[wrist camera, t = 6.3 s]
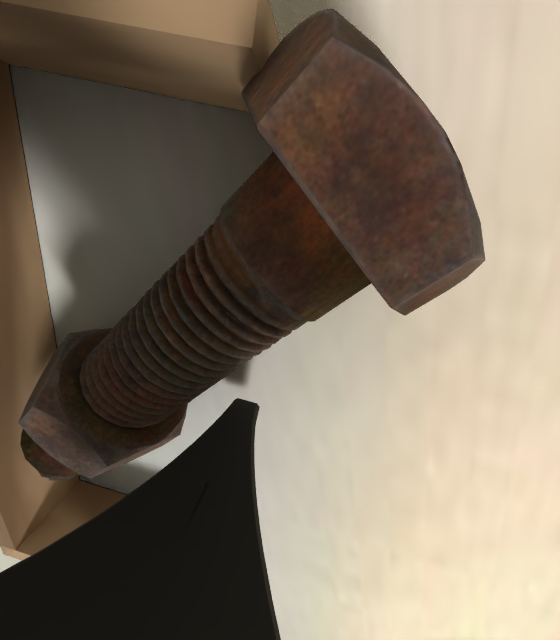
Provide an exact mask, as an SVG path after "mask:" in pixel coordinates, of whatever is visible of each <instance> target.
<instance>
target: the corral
mask: <svg viewBox="0 0 560 640" xmlns="http://www.w3.org/2000/svg"><path fill="white" fill-rule="evenodd" d="M279 44H280V41H279V37H278V34H277V30H276V26H275V23H274V19H273V15H272V12H271V8H270V5H269V1H268V0H0V547H1V549H2V551H3V554H4V555H7V556H10V557H13V558H16V559H19V560H24V559H26V558H28V557H29V556H31V555H33V554H35V553H37V552H38V551H40V550H42V549H43V548H45V547H47V546H49V545H50V544H52V543H54V542H55V541H57V540H58V539H60V538H62V537H63V536H65V535H67V534H68V533H70V532H71V531H73V530H75V529H76V528H78V527H80V526H81V525H83V524H84V523H86V522H88V521H89V520H91V519H92V518H94V517H96V516H97V515H99V514H100V513H102V512H103V511H105V510H106V509H108V508H109V507H111V506H112V505H114V504H115V503H117V502H118V501H120V500H121V499H122V498H124V497H125V496H127V495H125V494H122V493H118V492H115V491H112V490H109V489H105V488H102V487H99V486H96V485H93V484H89V483H86V482H83V481H80V480H79V476H78V474H75V477H72V479H67V480H62V481H51V480H49V478H45V477H41V475H40V474H39V472H38V471H37V470H36V469H35V468H34V467H33V466H32V465H31V464H30V463H29V462H28V461H27V460H26V459H25V457H24V454H23V451H22V448H21V445H20V442H21V433H22V430H23V428H22V427H21V425H20V424H19V423H18V422H19V420H20V417H21V415H22V413H23V410H24V408H25V406H26V404H27V402H28V400H29V398H30V396H31V394H32V392H33V390H34V388H35V386H36V384H37V382H38V380H39V378H40V376H41V375H42V373H43V371H44V369H45V367H46V366H47V364H48V362H49V361H50V359H51V357H52V355H53V354H54V352H55V350H56V349H57V347H56V341H55V335H54V329H53V323H52V318H51V312H50V306H49V300H48V294H47V288H46V282H45V277H44V271H43V265H42V259H41V253H40V247H39V241H38V236H37V230H36V224H35V218H34V212H33V206H32V200H31V195H30V189H29V183H28V177H27V171H26V165H25V159H24V154H23V148H22V142H21V136H20V130H19V124H18V118H17V113H16V107H15V101H14V95H13V89H12V83H11V77H10V72H9V66H8V64H12V65H17V66H22V67H27V68H32V69H37V70H42V71H47V72H52V73H57V74H62V75H67V76H72V77H77V78H82V79H87V80H92V81H96V82H101V83H106V84H111V85H116V86H121V87H126V88H131V89H136V90H141V91H146V92H151V93H156V94H161V95H166V96H171V97H176V98H181V99H186V100H191V101H195V102H200V103H205V104H210V105H215V106H220V107H225V108H230V109H235V110H240V111H245V112H249V110H248V108H247V105H246V103H245V101H244V99H243V97H242V90H243V89H244V88H245V86H246V85H247V84H248V83H249V81H250V80H251V79H252V78H253V76H254V75H256V74H257V73H258V72H260V71H261V70H262V69H263V67H264V65H265V63H266V61H267V59H268V58H269V56H270V55H271V54H272V52H273V51H274V50H275V49H276V47H277V46H278V45H279Z"/></svg>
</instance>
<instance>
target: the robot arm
mask: <svg viewBox="0 0 560 640" xmlns="http://www.w3.org/2000/svg"><path fill="white" fill-rule="evenodd" d="M258 411H259V406H258V404H257V403H253V402H250V401H246V400H242V399H239V398H237V399H235V400H234V401H233V402H232V404H231V405H230V406H229V407H228V408H227V410H226V411H225V412H224V413H223V414H222V415H221V416H220V417H219V418H218V419H217V420H216V421H215V423H214V424H213V425H212V426H211V427H209V428H208V429H207V430H206V431H205V432H204V433H203V434H202V435H201V436H200V437H199V438H198V439H197V440H196V441H195V442H194V443H193V444H192V445H190V446H189V447H188V448H187V449H186V450H185V451H183V452H182V453H181V454H180V455H179V456H178V457H177V458H175V459H174V460H173V461H172V462H171V463H169V464H168V465H167V466H166V467H164V468H163V469H162V470H161V471H159V472H158V473H157V474H156V475H154V476H153V477H152V478H150V479H149V480H148V481H146V482H145V483H144V484H142V485H141V486H140V487H138V488H137V489H135V490H134V491H132V492H131V493H130V494H128V495H127V496H125V497H124V498H122V499H121V500H120V501H118V502H117V503H115V504H114V505H112V506H111V507H109V508H108V509H106V510H105V511H103V512H102V513H100V514H99V515H97V516H96V517H94V518H92V519H91V520H89V521H88V522H86V523H84V524H83V525H81V526H80V527H78V528H76V529H75V530H73V531H71V532H70V533H68V534H67V535H65V536H63V537H62V538H60V539H58V540H57V541H55V542H54V543H52V544H50V545H49V546H47V547H45V548H43V549H42V550H40V551H38V552H37V553H35V554H33V555H31V556H29V557H28V558H26V559H24V560H22V561H20V562H19V563H17V564H15V565H13V566H11V567H10V568H8V569H6V570H4V571H2V572H1V573H0V640H281V639H280V634H279V629H278V625H277V620H276V615H275V611H274V606H273V601H272V596H271V591H270V585H269V580H268V574H267V569H266V563H265V557H264V552H263V546H262V539H261V532H260V525H259V516H258V508H257V498H256V486H255V468H254V438H255V425H256V420H257V416H258Z"/></svg>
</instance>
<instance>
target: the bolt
mask: <svg viewBox="0 0 560 640" xmlns="http://www.w3.org/2000/svg"><path fill="white" fill-rule="evenodd" d="M242 97H243V99H244V101H245V103H246V105H247V108H248V110H249V112H250V114H251V117H252V119H253V121H254V123H255V125H256V128H257V130H258V131H259V132H260V134H261V135H262V136H263V138H264V139H265V140H266V142H267V143H268V144H269V146H270V147H271V149H272V150H273V151H274V152H273V153H272V154H271V155H270V156H269V157H268V158H267V159H266V160H265V162H264V163H263V164H262V165H261V166H260V167H259V168H258V169H257V170H256V171H255V172H254V173H253V174H252V175H251V176H250V178H249V179H248V180H247V181H246V182H245V183H244V184H243V185H242V186H241V187H240V188H239V189H238V190H237V191H236V193H235V194H234V195H233V196H232V197H231V198H230V199H229V200H228V201H227V202H226V203H225V204H224V205H223V207H222V208H221V213H220V215H219V216H218V218H217V219H216V220H215V223H214V225H211V226H210V227H209V228H208V229H207V230H206V231H205V235H203V236H201V237H199V238H198V239H197V241H196V243H195V244H194V245H193V246H191V247H190V248H189V249H188V251H187V252H186V254H184V255H183V256H181V257H180V258H179V260H178V261H177V262H176V263H175V264H174V265H173V266H172V267H171V268H170V269H169V270H168V271H167V272H166V273H165V274H163V275H162V278H161V279H160V280H158V281H157V282H156V283H155V284H154V285H153V287H152V288H151V289H149V290H148V291H147V293H146V294H145V295H144V296H143V297H142V298H141V299H140V301H139V302H138V303H137V304H136V306H134V307H133V308H132V309H131V310H130V311H129V312H128V313H127V315H125V316H124V317H123V318H122V319H121V321H120V322H119V323H118V324H117V325H116V326H115V327H114V328H108V329H96V330H89V331H83V332H77V333H71V334H69V335H68V336H67V337H66V339H65V340H64V341H63V342H62V343H61V345H60V346H59V347H58V348H57V349H56V350H55V352H54V354H53V355H52V357H51V359H50V361H49V362H48V364H47V366H46V367H45V369H44V371H43V373H42V375H41V376H40V378H39V380H38V382H37V384H36V386H35V388H34V390H33V392H32V394H31V396H30V398H29V400H28V402H27V404H26V406H25V408H24V410H23V413H22V415H21V417H20V420H19V422H18V423H19V424H20V425H21V427H22V428H23V430H22V433H21V442H20V445H21V448H22V451H23V454H24V457H25V459H26V460H27V461H28V462H29V463H30V464H31V465H32V466H33V467H34V468H35V469H36V470H37V471H38V472H39V474H40V475H41V477H45V478H49V480H51V481H62V480H67V479H72V477H75V474H78V475H83V476H85V477H87V478H89V479H90V478H92V477H95V476H97V475H100V474H102V473H105V472H107V471H109V470H112V469H114V468H116V467H118V466H121V465H123V464H125V463H127V462H129V461H132V460H134V459H136V458H138V457H140V456H142V455H144V454H146V453H148V452H150V451H152V450H154V449H157V448H159V447H161V446H163V445H164V444H166V443H167V442H169V441H171V440H172V439H174V438H175V437H177V436H179V435H180V433H181V430H182V426H183V423H184V419H185V416H186V410H187V405H188V403H189V402H190V401H191V400H193V399H194V398H195V397H197V396H198V395H200V394H201V393H202V392H204V391H206V390H207V389H208V388H210V387H211V386H213V385H214V384H216V383H217V382H218V381H220V380H221V379H223V378H225V377H226V376H227V375H228V374H229V373H230V372H233V371H234V370H235V369H236V368H237V367H238V366H240V365H242V364H243V363H244V362H246V361H248V360H250V359H251V358H252V357H253V356H256V355H259V354H260V353H261V352H262V351H263V350H266V349H268V348H270V347H271V345H272V344H275V343H276V342H277V341H279V340H280V339H281V338H282V337H285V336H287V335H289V334H290V333H291V331H292V330H296V329H297V328H299V327H300V326H302V325H303V324H304V323H306V322H308V321H310V322H311V321H316V320H317V319H318V318H320V317H321V316H323V315H324V314H326V313H327V312H329V311H330V310H332V309H333V308H335V307H336V306H338V305H339V304H341V303H342V302H344V301H345V300H347V299H348V298H350V297H351V296H353V295H354V294H356V293H357V292H359V291H360V290H362V289H363V288H365V287H366V286H368V285H369V284H371V283H372V284H373V286H374V287H375V288H376V289H377V291H378V292H379V293H380V295H381V296H382V297H383V299H384V300H385V301H386V302H387V304H388V305H389V306H390V307H391V308H392V309H394V310H396V311H397V312H399V313H401V314H403V315H407V314H409V313H410V312H412V311H414V310H415V309H417V308H419V307H420V306H422V305H424V304H426V303H427V302H429V301H431V300H432V299H434V298H436V297H437V296H439V295H441V294H442V293H444V292H446V291H448V290H449V289H451V288H452V287H454V286H455V285H457V284H458V283H460V282H461V281H462V280H464V279H465V278H467V277H468V276H469V275H470V274H471V273H472V272H473V271H474V270H475V269H477V268H478V267H479V266H480V265H481V264H482V263H483V262H484V261H485V254H484V246H483V238H482V230H481V223H480V219H479V216H478V213H477V210H476V207H475V204H474V201H473V198H472V195H471V193H470V190H469V187H468V184H467V181H466V178H465V175H464V172H463V169H462V166H461V163H460V161H459V159H458V157H457V155H456V153H455V150H454V148H453V146H452V144H451V142H450V140H449V138H448V136H447V134H446V132H445V131H444V129H443V128H442V126H441V125H440V124H439V122H438V121H437V120H436V118H435V117H434V116H433V114H432V113H431V112H430V110H429V109H428V107H427V106H426V105H425V103H424V102H423V101H422V100H421V99H420V97H419V96H418V95H417V94H416V93H415V91H414V90H413V89H412V88H411V87H410V85H409V84H408V83H407V82H406V81H405V79H404V78H403V77H402V76H401V75H400V73H399V72H398V71H397V70H396V69H395V67H394V66H393V65H392V64H391V63H390V61H389V60H388V59H387V58H386V57H385V55H384V54H383V53H382V52H381V50H380V49H379V48H378V47H377V46H376V45H375V44H374V43H373V42H372V41H370V40H369V39H368V38H367V37H366V36H365V35H363V34H362V33H361V32H360V31H359V30H358V29H356V28H355V27H354V26H353V25H352V24H351V23H349V22H348V21H347V20H346V19H345V18H344V17H343V16H341V15H340V14H339V13H338V12H337V11H336V10H334V9H326V10H323V11H319V12H316V13H315V14H313V15H312V16H310V17H309V18H307V19H306V20H304V21H303V22H302V23H300V24H299V25H298V26H297V27H296V28H295V29H294V30H292V31H291V32H290V33H289V34H288V35H287V36H286V37H284V39H283V40H282V41H281V42H280V44H279V45H278V46H277V47H276V49H275V50H274V51H273V52H272V54H271V55H270V56H269V58H268V59H267V61H266V63H265V65H264V67H263V69H262V70H261V71H260V72H258V73H257V74H256V75H254V76H253V78H252V79H251V80H250V81H249V83H248V84H247V85H246V86H245V88H244V89H243V90H242Z"/></svg>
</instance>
